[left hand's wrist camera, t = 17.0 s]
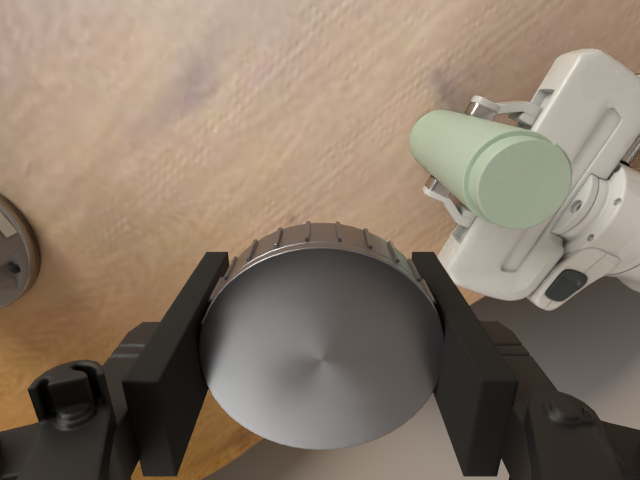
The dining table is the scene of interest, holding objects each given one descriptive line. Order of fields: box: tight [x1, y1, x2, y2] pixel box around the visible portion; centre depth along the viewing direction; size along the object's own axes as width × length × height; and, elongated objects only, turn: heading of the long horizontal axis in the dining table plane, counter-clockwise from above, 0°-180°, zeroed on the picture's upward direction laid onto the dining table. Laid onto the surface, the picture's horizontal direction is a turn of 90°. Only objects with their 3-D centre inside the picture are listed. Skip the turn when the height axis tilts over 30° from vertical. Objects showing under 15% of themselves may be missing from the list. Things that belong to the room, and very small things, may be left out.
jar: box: [409, 110, 573, 229], centre depth 29 cm, size 6×6×18 cm
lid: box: [198, 221, 444, 450], centre depth 11 cm, size 7×7×2 cm
